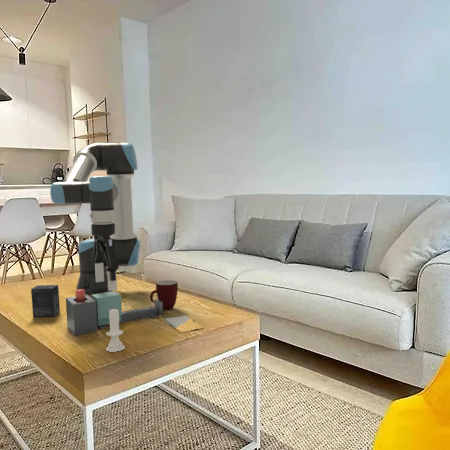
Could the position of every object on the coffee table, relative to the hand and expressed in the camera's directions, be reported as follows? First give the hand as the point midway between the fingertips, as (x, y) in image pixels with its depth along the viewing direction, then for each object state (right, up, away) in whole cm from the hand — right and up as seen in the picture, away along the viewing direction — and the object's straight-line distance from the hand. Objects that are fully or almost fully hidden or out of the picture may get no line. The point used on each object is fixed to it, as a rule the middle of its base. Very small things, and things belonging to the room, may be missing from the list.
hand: (106, 285), depth 147 cm
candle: (+8, -15, -21) cm, 27 cm away
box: (-25, -13, +13) cm, 31 cm away
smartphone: (+26, -13, 0) cm, 29 cm away
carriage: (0, -13, +1) cm, 13 cm away
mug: (+17, -11, +18) cm, 27 cm away
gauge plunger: (-7, -4, -5) cm, 9 cm away
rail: (+6, -13, +4) cm, 15 cm away
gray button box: (-7, -14, -4) cm, 16 cm away
